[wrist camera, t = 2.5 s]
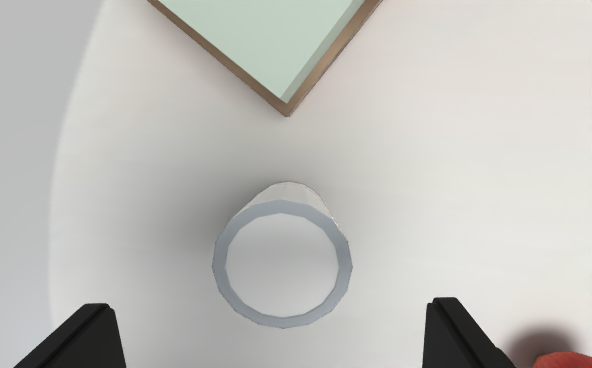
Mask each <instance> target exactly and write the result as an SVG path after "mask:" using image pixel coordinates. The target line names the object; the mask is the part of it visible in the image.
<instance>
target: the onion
mask: <svg viewBox="0 0 592 368" xmlns="http://www.w3.org/2000/svg"><path fill="white" fill-rule="evenodd" d="M532 368H592V357H590V356H587V355H583V354H579V353H575V352H553V353H550V354H542V355H540V356H538V357H537V358H536V361H535V364H534V366H533V367H532Z"/></svg>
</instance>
